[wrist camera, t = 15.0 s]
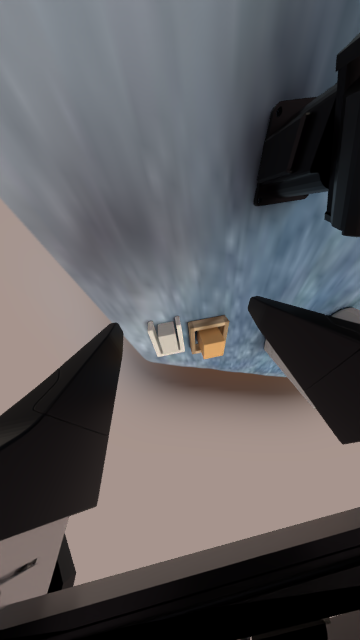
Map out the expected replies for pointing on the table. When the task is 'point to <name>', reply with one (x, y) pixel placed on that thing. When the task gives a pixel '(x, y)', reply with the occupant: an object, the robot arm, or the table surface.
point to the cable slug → (167, 337)
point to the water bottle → (348, 315)
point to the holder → (206, 324)
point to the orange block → (211, 342)
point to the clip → (156, 341)
